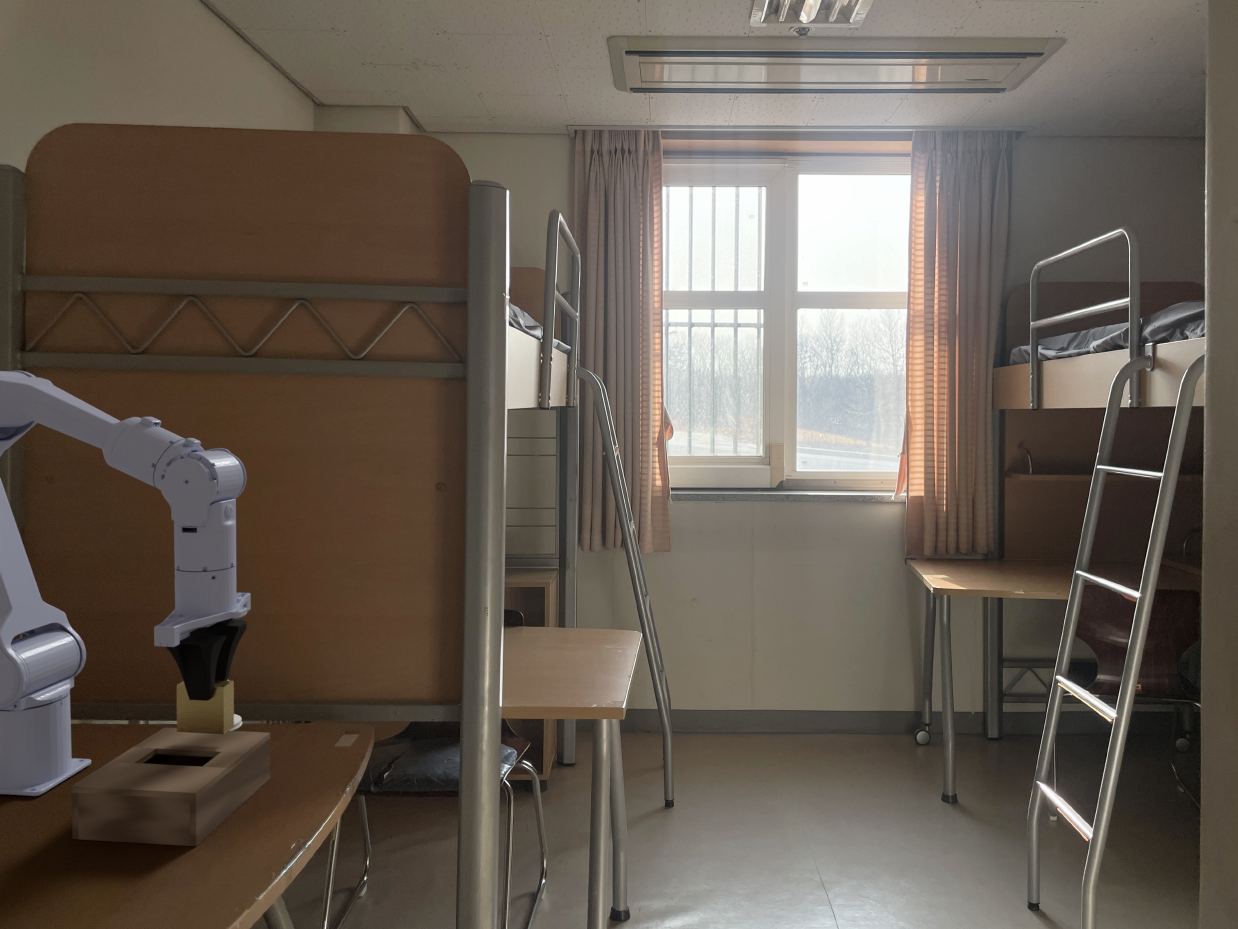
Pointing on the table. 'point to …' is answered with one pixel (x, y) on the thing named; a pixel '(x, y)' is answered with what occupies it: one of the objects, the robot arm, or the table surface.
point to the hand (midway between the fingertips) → (207, 694)
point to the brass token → (206, 710)
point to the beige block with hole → (171, 787)
